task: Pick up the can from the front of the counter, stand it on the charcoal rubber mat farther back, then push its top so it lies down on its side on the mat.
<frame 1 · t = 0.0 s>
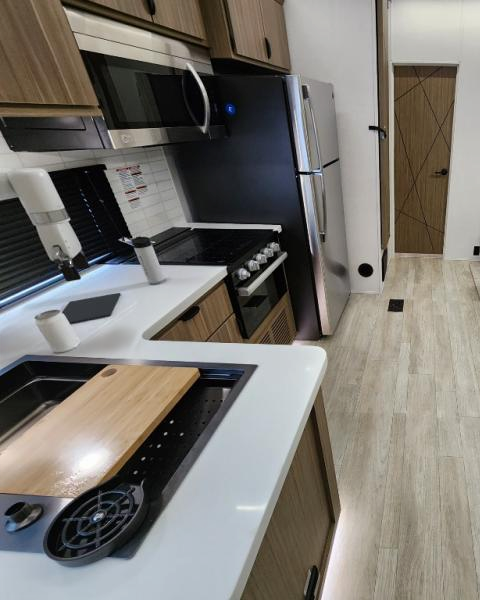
hand: (79, 274, 98), 22 cm above the worktop, tool pointing down, fingers open, 9 cm apart
mat: (89, 309, 125), on the worktop
travel mug: (157, 282, 146), on the worktop
can: (67, 347, 104), on the worktop
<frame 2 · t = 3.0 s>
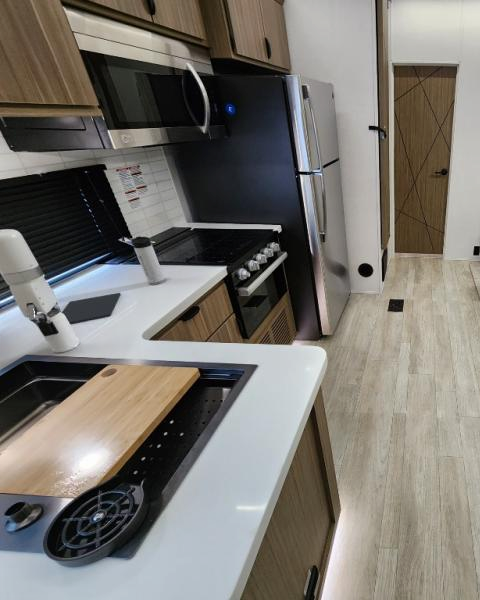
hand: (55, 328, 100), 7 cm above the worktop, tool pointing down, fingers closed on can, 6 cm apart
can: (67, 347, 104), on the worktop, touching gripper
everything else where it was.
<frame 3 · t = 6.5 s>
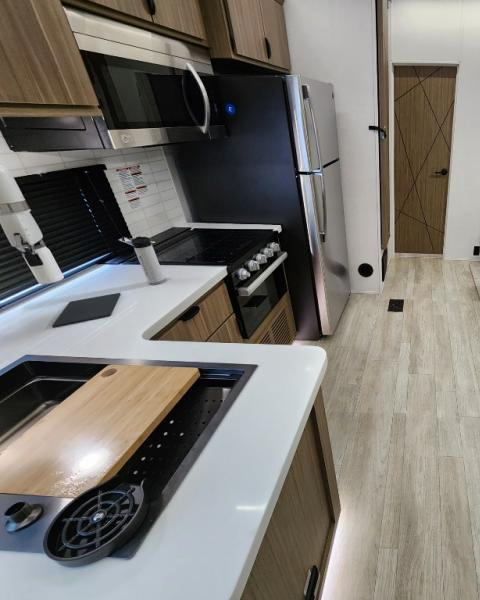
hand: (41, 261, 110), 21 cm above the worktop, tool pointing down, fingers closed on can, 6 cm apart
can: (52, 281, 114), point 14 cm above the worktop, touching gripper
everything else where it was.
when the fingers open (8 cm above the worktop, at t = 10.2 s): can stays where it is, resting on mat.
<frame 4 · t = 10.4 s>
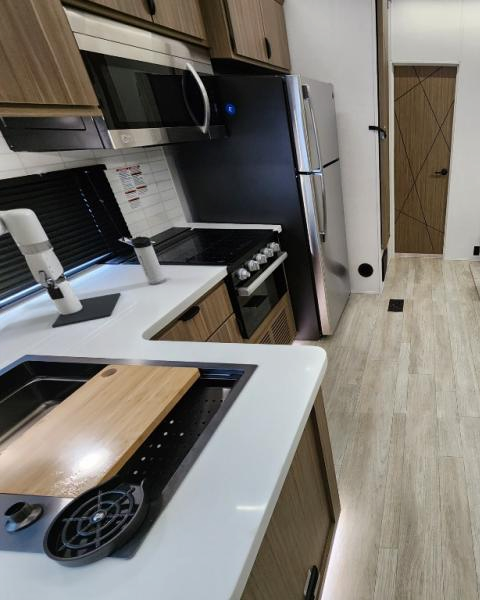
hand: (62, 293, 119), 8 cm above the worktop, tool pointing down, fingers open, 7 cm apart
can: (71, 311, 122), point 1 cm above the worktop, touching mat
everything else where it was.
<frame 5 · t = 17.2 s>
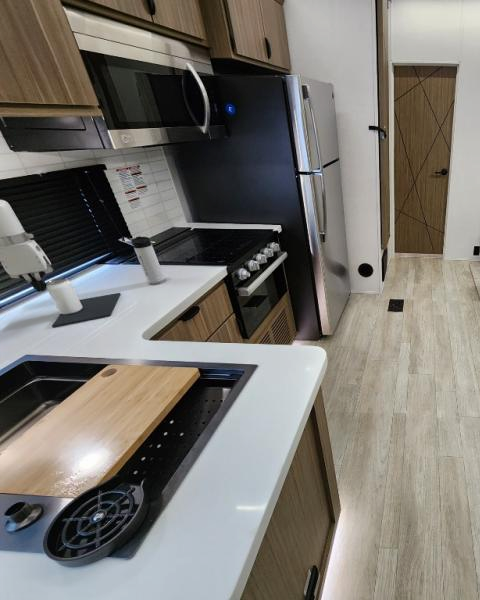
hand: (42, 289, 116), 11 cm above the worktop, tool pointing down, fingers closed
can: (71, 311, 122), point 1 cm above the worktop, touching gripper, mat
everything else where it was.
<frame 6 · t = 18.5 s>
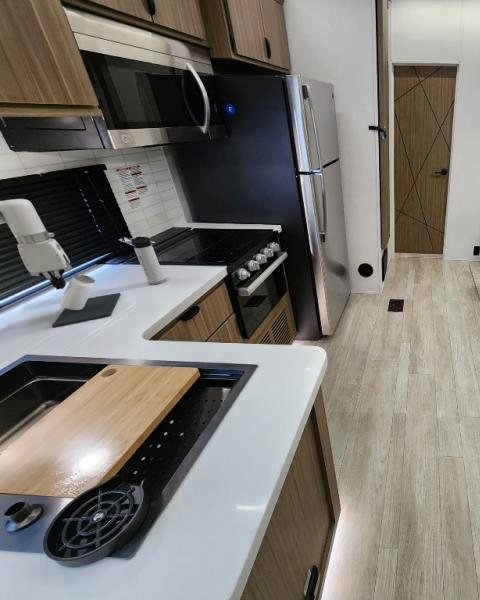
hand: (61, 287, 118), 10 cm above the worktop, tool pointing down, fingers closed
can: (71, 306, 121), point 3 cm above the worktop, touching mat
everything else where it was.
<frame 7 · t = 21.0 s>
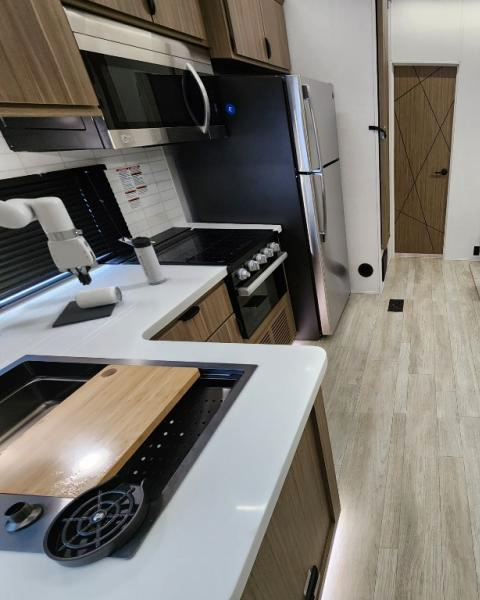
hand: (87, 283, 121), 10 cm above the worktop, tool pointing down, fingers closed
can: (78, 300, 122), point 4 cm above the worktop, touching mat
everything else where it was.
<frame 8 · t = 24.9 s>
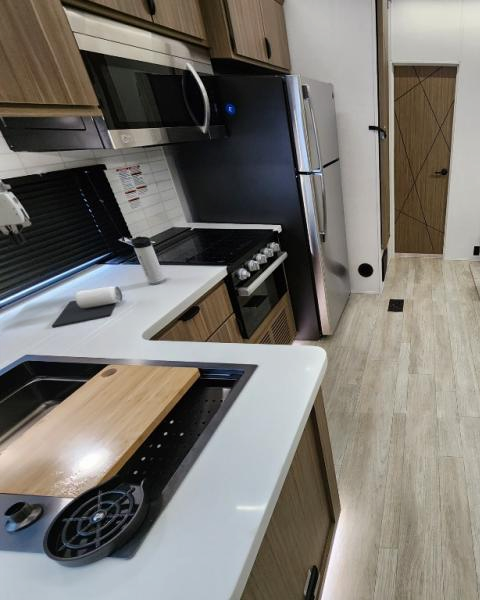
hand: (20, 244, 115), 25 cm above the worktop, tool pointing down, fingers closed
nothing on the worktop moved.
at the end: can tilted 90°; can inside the target area on the mat (2.1 cm from its centre), point 4.0 cm above the mat's base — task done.
